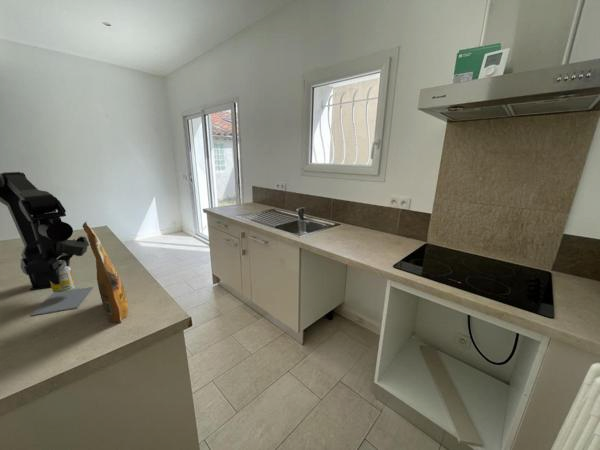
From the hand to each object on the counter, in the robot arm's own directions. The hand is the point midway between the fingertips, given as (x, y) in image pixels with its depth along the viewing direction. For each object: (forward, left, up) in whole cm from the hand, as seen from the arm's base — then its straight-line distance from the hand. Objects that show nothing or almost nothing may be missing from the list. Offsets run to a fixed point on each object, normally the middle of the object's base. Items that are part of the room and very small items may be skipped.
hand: (61, 279), depth 79 cm
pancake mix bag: (+17, -13, -7) cm, 23 cm away
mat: (0, -2, -7) cm, 7 cm away
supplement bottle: (0, 0, -4) cm, 4 cm away
